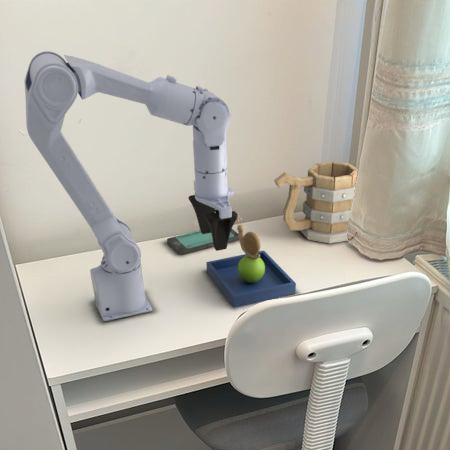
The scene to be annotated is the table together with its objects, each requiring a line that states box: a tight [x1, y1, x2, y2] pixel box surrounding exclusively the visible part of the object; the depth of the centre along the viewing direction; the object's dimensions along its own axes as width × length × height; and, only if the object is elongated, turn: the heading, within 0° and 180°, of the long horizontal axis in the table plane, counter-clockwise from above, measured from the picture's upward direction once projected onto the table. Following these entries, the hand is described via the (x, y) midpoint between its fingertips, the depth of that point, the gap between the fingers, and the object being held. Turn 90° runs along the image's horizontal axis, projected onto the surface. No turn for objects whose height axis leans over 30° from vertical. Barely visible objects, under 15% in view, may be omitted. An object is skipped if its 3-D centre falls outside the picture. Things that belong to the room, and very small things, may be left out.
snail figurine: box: [235, 217, 265, 283], centre depth 124 cm, size 5×6×12 cm
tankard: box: [274, 160, 359, 245], centre depth 139 cm, size 20×13×15 cm, turn 108°
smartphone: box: [166, 228, 239, 256], centre depth 142 cm, size 7×1×15 cm
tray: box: [205, 250, 297, 308], centre depth 127 cm, size 15×13×2 cm
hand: (213, 240), depth 119 cm, fingers open, 7 cm apart
